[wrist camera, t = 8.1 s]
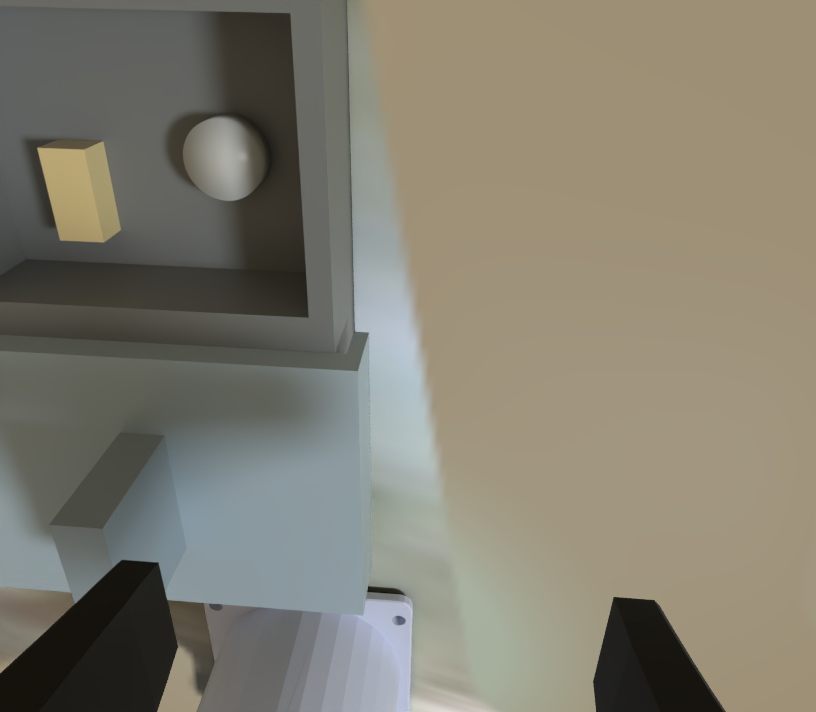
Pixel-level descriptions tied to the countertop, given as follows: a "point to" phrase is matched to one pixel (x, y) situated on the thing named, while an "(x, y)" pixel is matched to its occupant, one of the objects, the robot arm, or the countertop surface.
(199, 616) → the countertop surface
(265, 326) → the parts tub
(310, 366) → the lid segment
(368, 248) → the countertop surface
